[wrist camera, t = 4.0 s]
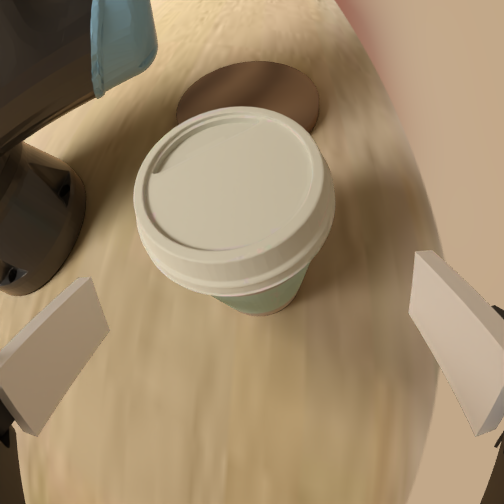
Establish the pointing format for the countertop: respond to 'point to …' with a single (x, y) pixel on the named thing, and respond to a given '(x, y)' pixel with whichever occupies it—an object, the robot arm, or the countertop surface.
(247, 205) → the coffee cup
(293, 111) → the walnut trivet
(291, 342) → the countertop surface
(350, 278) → the countertop surface
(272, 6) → the countertop surface
